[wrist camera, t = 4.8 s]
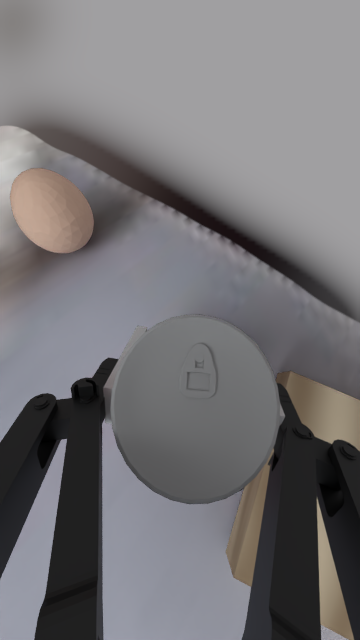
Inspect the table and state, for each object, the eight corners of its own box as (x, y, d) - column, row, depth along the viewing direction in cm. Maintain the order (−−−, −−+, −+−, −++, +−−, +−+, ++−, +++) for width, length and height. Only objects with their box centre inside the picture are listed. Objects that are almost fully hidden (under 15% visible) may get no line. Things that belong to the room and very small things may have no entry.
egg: (38, 226, 26) (-20, 157, 18) (95, 210, 26) (62, 138, 19) (49, 274, 24) (-11, 220, 16) (109, 256, 25) (80, 196, 17)
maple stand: (224, 545, 17) (233, 577, 14) (275, 373, 21) (290, 370, 18) (412, 644, 16) (465, 702, 13) (429, 439, 19) (472, 447, 17)
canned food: (216, 344, 22) (254, 300, 11) (237, 433, 19) (309, 483, 9) (138, 358, 21) (100, 326, 11) (150, 451, 19) (117, 528, 8)
